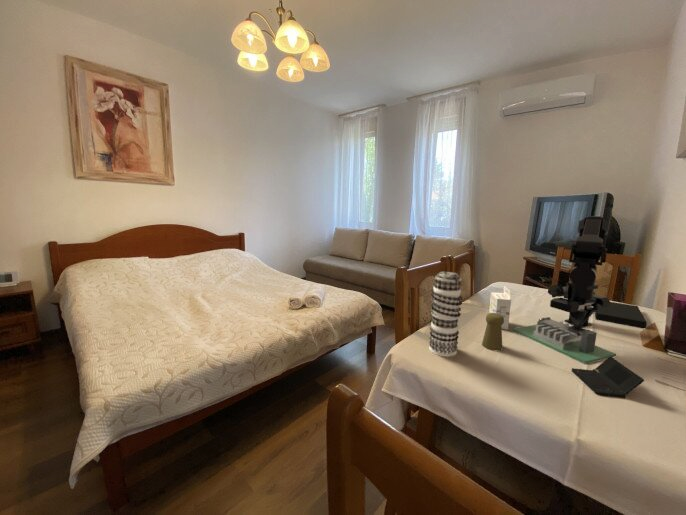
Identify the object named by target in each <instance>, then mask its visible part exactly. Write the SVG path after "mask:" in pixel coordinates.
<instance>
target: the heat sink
mask: <svg viewBox="0 0 686 515" xmlns="http://www.w3.org/2000/svg"><path fill="white" fill-rule="evenodd" d="M558 322H559V323H562V324H565V325H567V326H570V327H573V325H570V323H564V321H558ZM535 325H536V330H535V331H534V333H533V336H534V337H536V338H538V339H540V340H543V341H545V342H547V343H549V344H551V345H554V346H556V347H558V348H560V349H562V350H564V349H568V348H573V347H578V346H580V349H579V351H580V352H583V353H589V352H594V347H595V345H596V339H597V334H598V332H595V331H594V330H591V329H586V330H582V331H579V334H581V335H580V336H576V335H573V334H571V333H568V332H566V331H563V330H561V329H558V328H556V327H553V326H551V325H548V324H546V323H543V322H540V321H539V320H538V321H537V323H536V324H535Z"/></svg>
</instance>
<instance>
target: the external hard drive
mask: <svg viewBox="0 0 686 515" xmlns="http://www.w3.org/2000/svg"><path fill="white" fill-rule="evenodd" d="M594 316H595V320H597V321H601V322H606V323H612V324H618V325H622V326H628V327H633V328H638V329H644V328H646V329H647V324H648V323H647V321H646V318H645V316H644V315H643V313H642V311H641V310H640V308H639V306H638V305H632V304H626V303H621V302H613V301H610V305H609V307H602V306H601V305H600V304H598V309H597V312H594ZM644 330H645V329H644Z"/></svg>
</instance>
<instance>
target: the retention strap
mask: <svg viewBox="0 0 686 515" xmlns="http://www.w3.org/2000/svg"><path fill="white" fill-rule="evenodd" d="M538 321H540V322H543V323H546V324H548V325H551V326H553V327H556V328H558V329H561V330H563V331H566V332H568V333H571V334H573V335H576V336H580V335H581V334H579V331H582V330H587V329H586V328H585V327H580V329H575V328H574V326H573V325H572V326H573V327H570V326H571V325H569V326H567V325H565V324H566V323H563V324H562V323H559V322H560V321H557V320H555V319H552V318H551V317H549V316H547V317H543V318H539V319H538Z"/></svg>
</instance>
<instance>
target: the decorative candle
mask: <svg viewBox="0 0 686 515" xmlns="http://www.w3.org/2000/svg"><path fill="white" fill-rule="evenodd" d="M433 278H434V283H433V284H434V285H433V288H432V289H431V293H430V296H431V300H430V302H431V304H430V308H431V310H430V313H431V317H432V318H431V324H430V327H429V330H430V332H429V337H428V339H429V341H428V344H429V345H428V349H429V351H430V353H432V354H435V355H437V356H440V357H445V358H446V357H448V358H449V357H454V356H456V355H457V353H458V348H459V347H458V344H459V341H458V339H459V334H460V332H459V324H458V322H459V319H460V317H461V315H462V314H461V313H460V312H461V311H462V308H461V307H459V306H462V304H463V302H462V300H463V296H462V294H461V293H462V289H461V288H462V287H461V285H462V281H463V278H462V277H460V275H459V274H458V273H456V272H453V271H440V272H438V273H437V274H436V275H435V276H434V277H433Z"/></svg>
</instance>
